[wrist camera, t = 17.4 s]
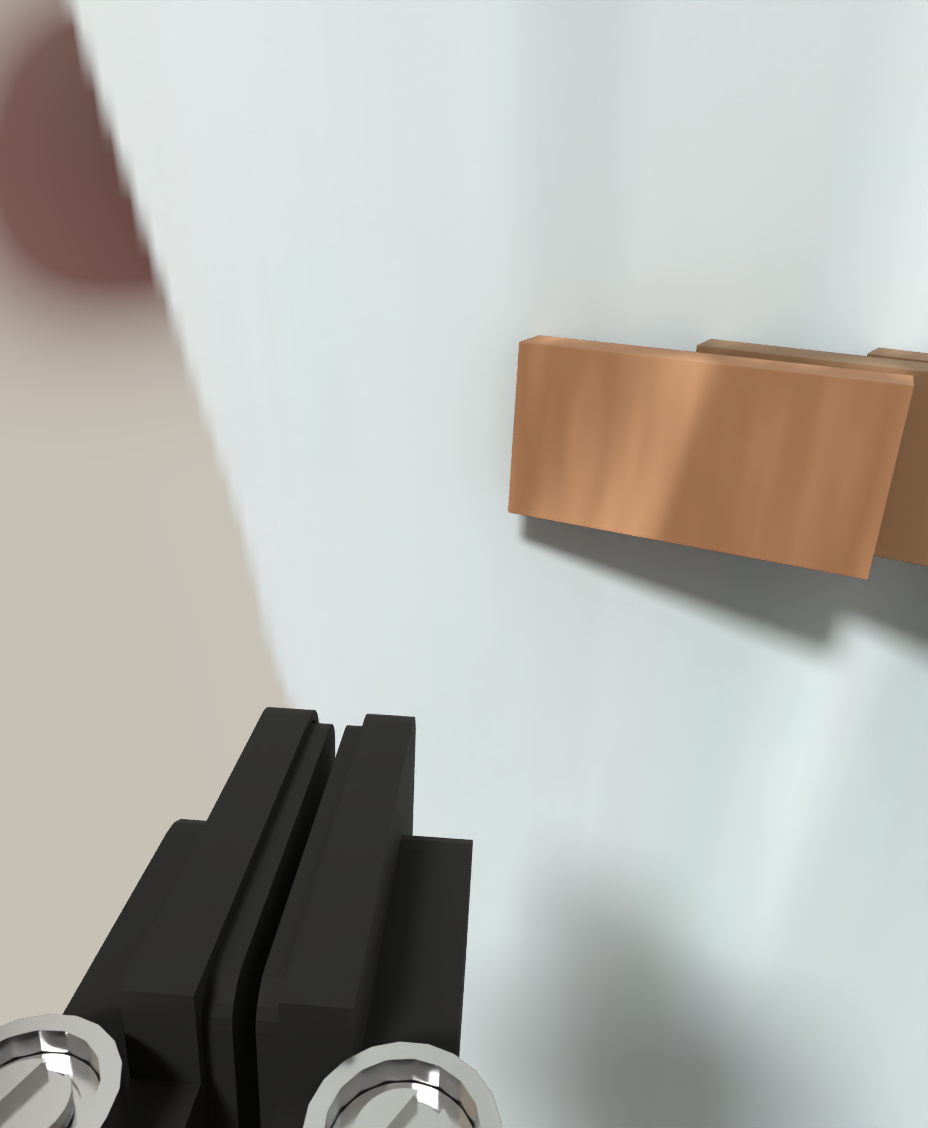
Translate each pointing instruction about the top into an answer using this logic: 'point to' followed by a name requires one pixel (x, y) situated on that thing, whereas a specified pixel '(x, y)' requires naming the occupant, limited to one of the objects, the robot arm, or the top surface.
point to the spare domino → (708, 449)
